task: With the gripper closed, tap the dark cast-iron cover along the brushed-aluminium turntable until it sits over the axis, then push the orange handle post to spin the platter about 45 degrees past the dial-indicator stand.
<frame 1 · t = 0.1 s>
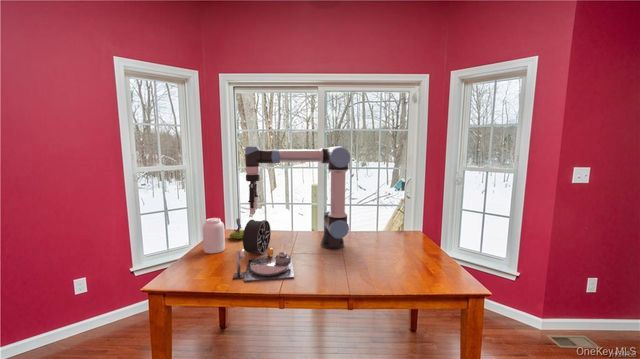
hand: (253, 210, 153), 28 cm above the table, fingers open, 13 cm apart
figurine: (238, 238, 189), on the table
turntable: (269, 260, 141), point 5 cm above the table, hinge at 0.0°, touching cover
dial stand: (239, 276, 133), on the table
cover: (283, 262, 142), point 3 cm above the table, touching turntable
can: (214, 250, 168), on the table
wheel rim: (257, 252, 165), on the table
turntable base: (269, 269, 142), on the table
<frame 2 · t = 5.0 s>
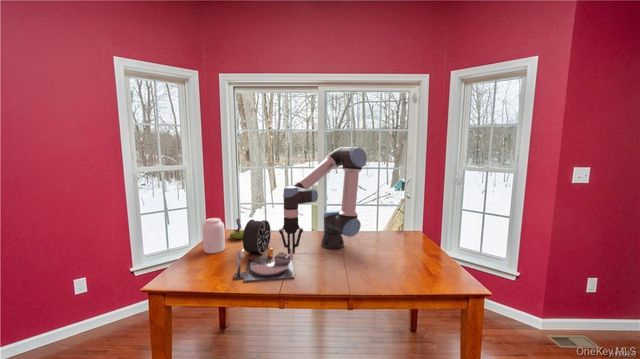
hand: (291, 259, 143), 5 cm above the table, fingers closed
cover: (282, 262, 142), point 3 cm above the table, touching gripper, turntable
everything else where it was.
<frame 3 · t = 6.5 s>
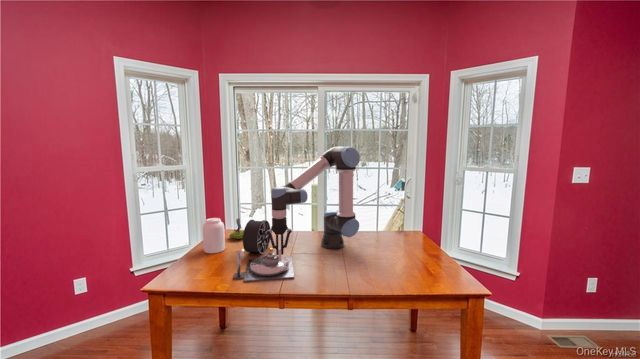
hand: (279, 260, 142), 5 cm above the table, fingers closed
cover: (270, 263, 141), point 3 cm above the table, touching gripper, turntable
everything else where it was.
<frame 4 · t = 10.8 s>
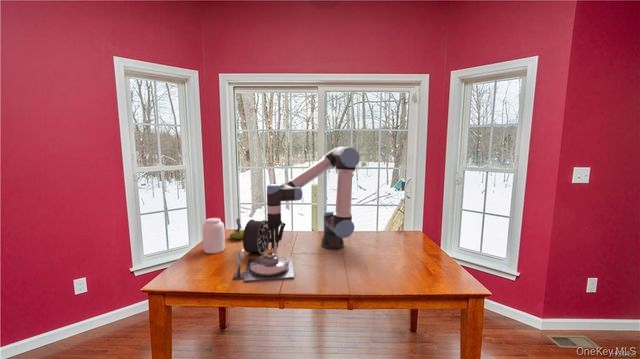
hand: (274, 253, 151), 5 cm above the table, fingers closed
turntable: (269, 260, 141), point 5 cm above the table, hinge at 1.5°, touching cover, gripper
cover: (270, 263, 141), point 3 cm above the table, touching turntable
everything else where it was.
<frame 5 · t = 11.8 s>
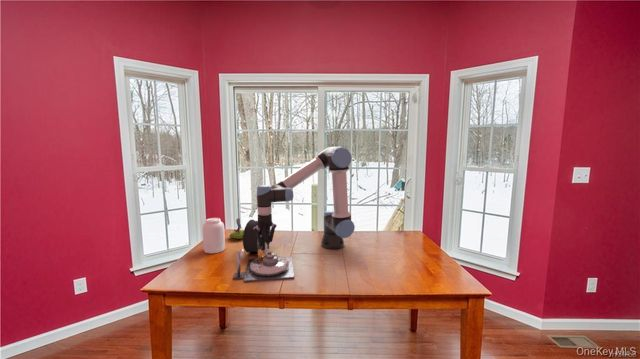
hand: (265, 254, 149), 5 cm above the table, fingers closed
turntable: (269, 260, 141), point 5 cm above the table, hinge at 38.5°, touching cover, gripper
everything else where it was.
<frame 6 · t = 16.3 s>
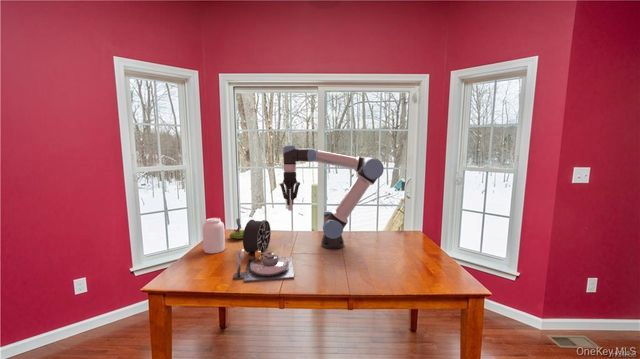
hand: (290, 210, 162), 26 cm above the table, fingers closed
turntable: (269, 260, 141), point 5 cm above the table, hinge at 52.9°, touching cover
everything else where it was.
at the end: cover 0.6 cm from the turntable (horizontally); turntable at +53° (first picture: +0°); cover tilted 0° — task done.
